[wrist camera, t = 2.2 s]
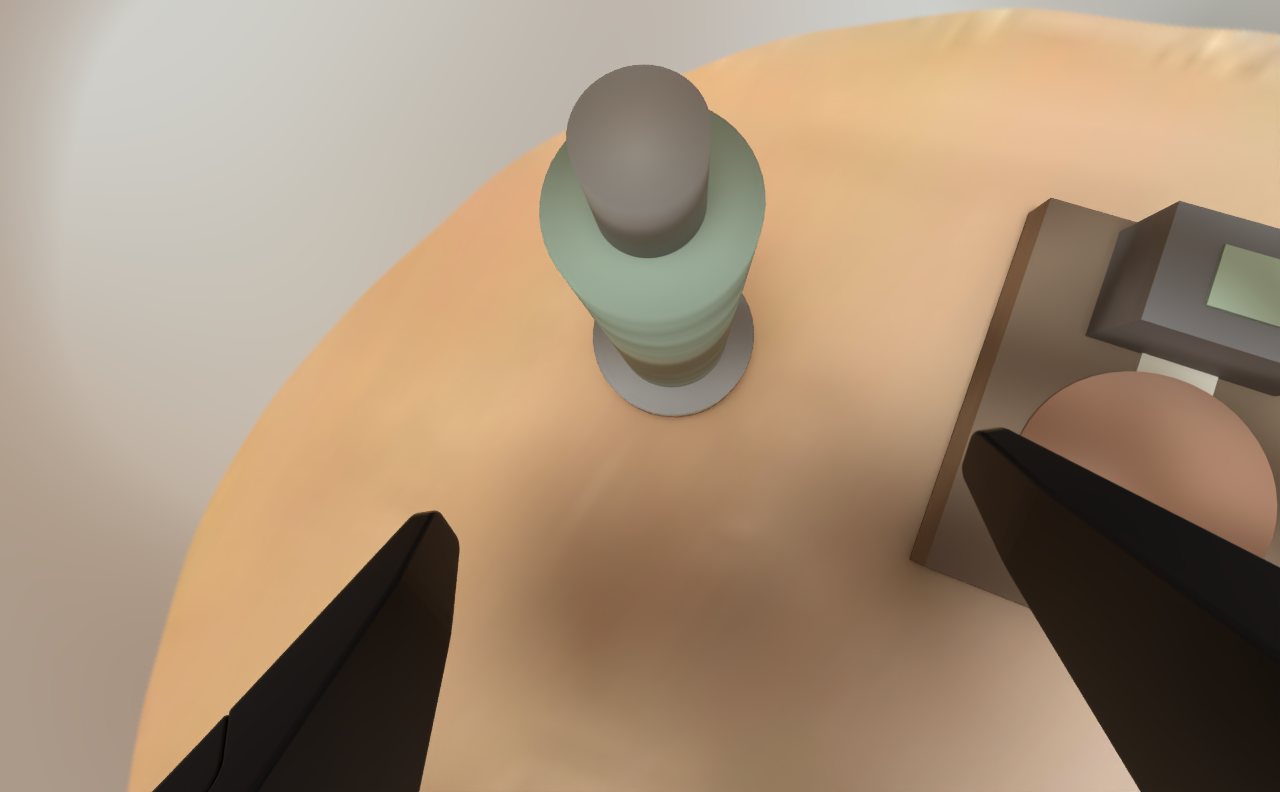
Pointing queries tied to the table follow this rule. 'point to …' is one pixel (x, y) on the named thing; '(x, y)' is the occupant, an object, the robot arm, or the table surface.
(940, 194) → the table surface
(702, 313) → the ring stacking peg
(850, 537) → the table surface
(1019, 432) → the digital kitchen scale
